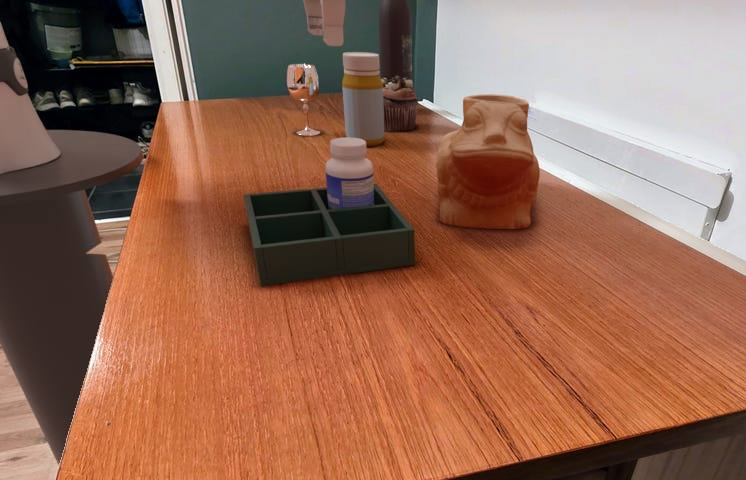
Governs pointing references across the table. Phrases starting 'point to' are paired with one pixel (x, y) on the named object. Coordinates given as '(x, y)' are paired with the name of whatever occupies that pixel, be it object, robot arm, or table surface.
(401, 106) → the cupcake
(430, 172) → the table surface
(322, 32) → the robot arm
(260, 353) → the table surface
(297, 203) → the organiser
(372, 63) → the bottle
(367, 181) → the pill bottle
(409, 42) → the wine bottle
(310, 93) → the wineglass
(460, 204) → the ceramic vessel
